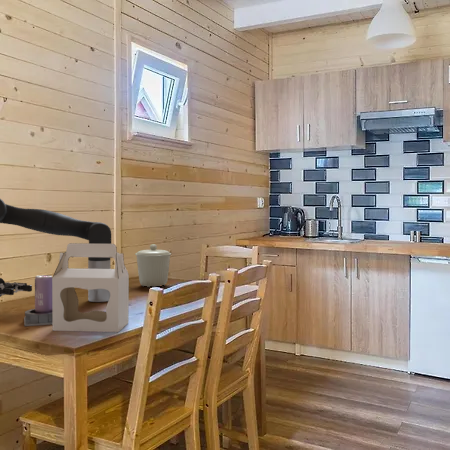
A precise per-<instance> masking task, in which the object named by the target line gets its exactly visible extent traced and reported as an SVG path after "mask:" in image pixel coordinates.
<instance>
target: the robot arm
mask: <svg viewBox="0 0 450 450" xmlns="http://www.w3.org/2000/svg"><path fill="white" fill-rule="evenodd" d="M0 224H6V225H13V226H18V227H21V228H24V229H27V230H33V231H36V232H40V233H43V234H49V235H57V236H65V237H76V238H78V239H79V238H80V239H83V240H87V241H88V243H91V244H112V231H111V228H110V226H109V225H107V224H106V223H104V222H101V221H100V222H99V221H98V222H97V221H90V220H89V221H88V220H81V219H78V218H74V217H71V216H69V215H66V214H63V213H59V212H56V211H50V210H47V209H40V208H21V207H17V206H13V205H10V204H7V203H5V202H4V200H3V199H1V198H0ZM87 258H88V260H87V261H88V262H87V264H88V265H87V267H88V268H87V269H111V258H110V257H87ZM32 291H33V286H32V284H28V283H27V282H8V281H7V282H5V280H4V279H3V278H2V277H0V297H2V296H13V295H14V294H15V293H19V292H32ZM87 292H88V293H87V294H88V296H87V298H88V302H92V303H105V302H108V301H109V299H110V292H109V291H108V290H106V289H92V290H88V289H87Z"/></svg>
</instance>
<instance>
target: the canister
mask: <svg viewBox="0 0 450 450" xmlns="http://www.w3.org/2000/svg"><path fill="white" fill-rule="evenodd" d="M157 248H158V246H157V244H154V243H153V244H150V245H149V249H142V250H139V251H137V252H136V253H135V254H134V255H135V256H136V262H137V272H138V273H137V274H138V280H139V283H140V285H141V286H142V287H144V286H147V287H146V288H151V287H150V286H154V287H153V288H156V287H155V286H160V285H164V286H166V285H165V284H167V283H168V279H169V270H170V261H171V256H172V252H170V251H168V250H164V249H157Z"/></svg>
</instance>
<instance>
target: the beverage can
mask: <svg viewBox="0 0 450 450" xmlns="http://www.w3.org/2000/svg"><path fill="white" fill-rule="evenodd" d="M52 277H53V275H49V274H48V275H47V274H45V275H44V274H43V275H42V274H41V275H40V274H39V275H35V278H34V309H35V314H43V313H51V312H52Z"/></svg>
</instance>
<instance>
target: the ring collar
mask: <svg viewBox="0 0 450 450" xmlns="http://www.w3.org/2000/svg"><path fill="white" fill-rule="evenodd" d="M24 315H25V316H24V318H23V319H24V320H23V322H24V325H23V326H24V327H34V326H35V327H36V326H49V325H53V324H52V312H51V313H43V314H35V308H31V309H28V310H26V311H24Z"/></svg>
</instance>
